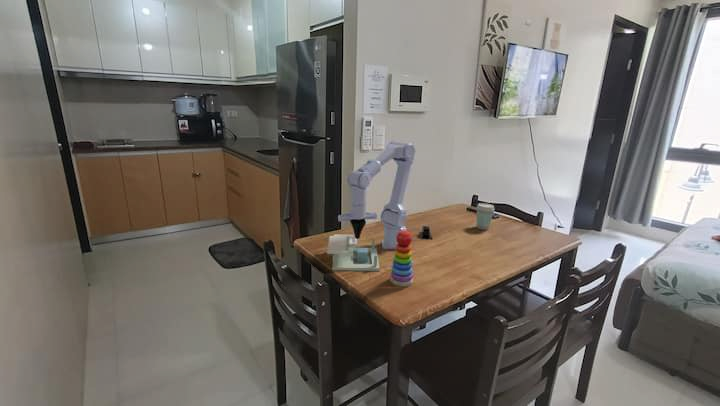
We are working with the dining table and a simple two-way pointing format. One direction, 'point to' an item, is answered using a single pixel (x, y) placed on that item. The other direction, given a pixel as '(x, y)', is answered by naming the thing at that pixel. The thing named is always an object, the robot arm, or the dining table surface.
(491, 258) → the dining table surface
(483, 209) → the coffee cup
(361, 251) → the block
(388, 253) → the dining table surface
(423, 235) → the black box
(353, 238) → the dish
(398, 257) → the stacking toy
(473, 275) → the dining table surface
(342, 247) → the cover
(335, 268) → the puzzle board
